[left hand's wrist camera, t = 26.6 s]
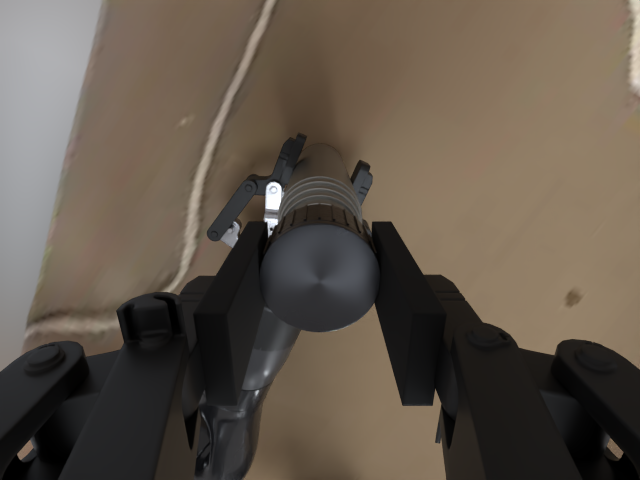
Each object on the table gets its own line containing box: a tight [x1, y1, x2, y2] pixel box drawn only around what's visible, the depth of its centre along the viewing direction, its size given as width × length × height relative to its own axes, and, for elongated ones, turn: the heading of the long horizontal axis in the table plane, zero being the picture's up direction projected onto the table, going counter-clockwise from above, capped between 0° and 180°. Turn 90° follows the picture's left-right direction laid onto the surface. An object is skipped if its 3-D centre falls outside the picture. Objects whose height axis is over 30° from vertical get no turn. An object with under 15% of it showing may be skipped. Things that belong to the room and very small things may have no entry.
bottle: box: [277, 144, 362, 223], centre depth 23 cm, size 4×4×22 cm
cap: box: [259, 203, 381, 332], centre depth 13 cm, size 4×4×2 cm
